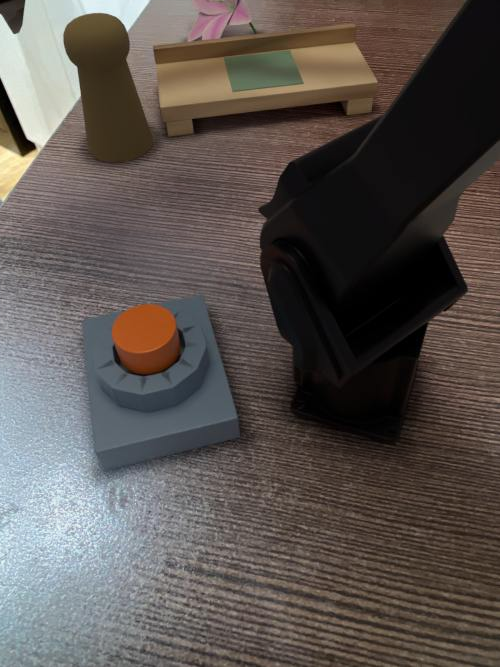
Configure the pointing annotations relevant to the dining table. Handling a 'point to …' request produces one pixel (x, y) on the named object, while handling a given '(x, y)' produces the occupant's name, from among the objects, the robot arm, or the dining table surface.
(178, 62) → the shelf
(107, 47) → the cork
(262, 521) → the dining table surface
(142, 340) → the bell button
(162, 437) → the control box
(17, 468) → the dining table surface
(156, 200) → the dining table surface
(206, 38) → the lily
